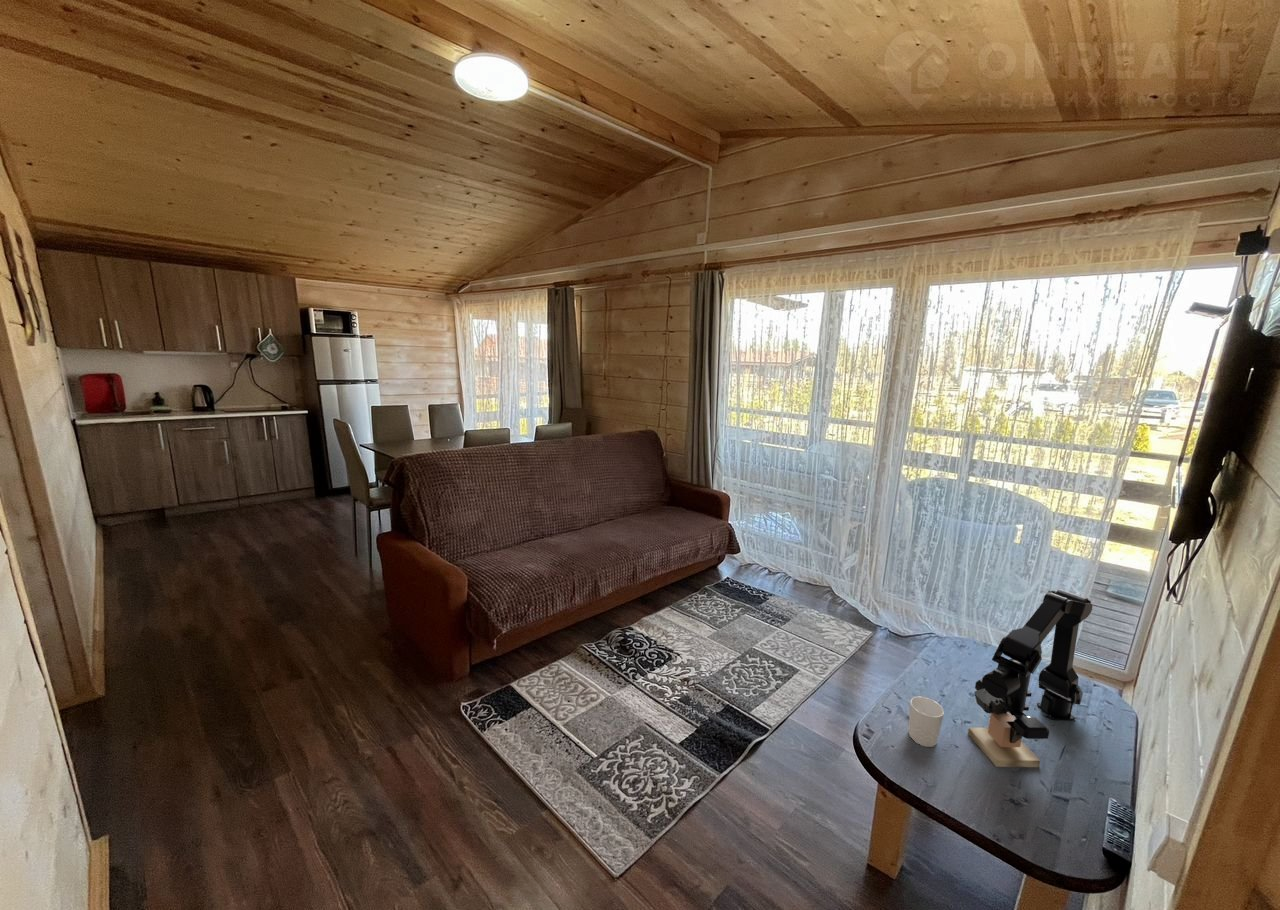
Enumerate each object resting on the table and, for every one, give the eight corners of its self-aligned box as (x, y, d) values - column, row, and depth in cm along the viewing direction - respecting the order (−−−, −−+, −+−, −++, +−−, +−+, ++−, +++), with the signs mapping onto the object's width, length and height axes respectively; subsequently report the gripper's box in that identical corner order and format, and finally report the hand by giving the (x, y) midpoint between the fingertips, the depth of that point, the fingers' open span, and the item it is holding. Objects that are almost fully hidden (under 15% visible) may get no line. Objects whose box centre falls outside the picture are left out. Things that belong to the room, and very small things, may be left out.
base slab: (1007, 734, 135) (1008, 727, 134) (1038, 767, 124) (1040, 760, 123) (967, 733, 135) (968, 727, 134) (996, 766, 124) (997, 760, 123)
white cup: (937, 732, 135) (941, 701, 133) (940, 753, 128) (945, 720, 126) (905, 723, 138) (909, 693, 136) (907, 743, 131) (911, 711, 129)
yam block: (1006, 732, 131) (1009, 713, 130) (1020, 747, 126) (1023, 727, 125) (987, 732, 131) (990, 713, 130) (1001, 747, 126) (1004, 727, 125)
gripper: (959, 660, 134) (952, 709, 138) (1009, 709, 116) (999, 764, 119) (1000, 660, 134) (991, 709, 137) (1056, 709, 116) (1044, 764, 119)
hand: (1004, 734), depth 128 cm, fingers closed on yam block, 5 cm apart
